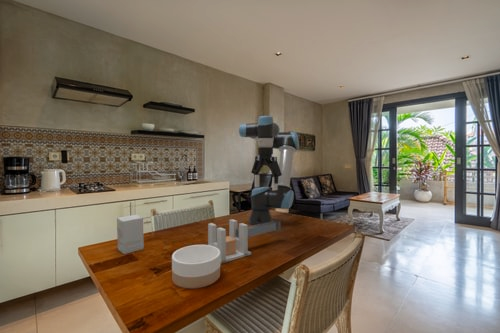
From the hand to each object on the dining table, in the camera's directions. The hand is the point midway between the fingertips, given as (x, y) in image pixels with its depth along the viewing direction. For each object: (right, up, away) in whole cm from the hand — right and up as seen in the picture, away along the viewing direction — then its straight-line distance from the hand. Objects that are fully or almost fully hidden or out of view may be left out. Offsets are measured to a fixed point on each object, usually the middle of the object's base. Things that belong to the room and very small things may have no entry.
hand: (265, 188), depth 121 cm
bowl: (-28, -29, -35) cm, 53 cm away
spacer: (-16, -24, -16) cm, 32 cm away
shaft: (-4, -21, -7) cm, 23 cm away
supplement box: (-64, -28, -11) cm, 70 cm away
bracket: (-18, -28, -17) cm, 37 cm away
